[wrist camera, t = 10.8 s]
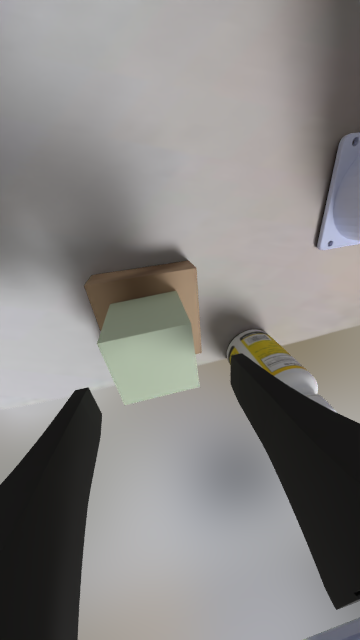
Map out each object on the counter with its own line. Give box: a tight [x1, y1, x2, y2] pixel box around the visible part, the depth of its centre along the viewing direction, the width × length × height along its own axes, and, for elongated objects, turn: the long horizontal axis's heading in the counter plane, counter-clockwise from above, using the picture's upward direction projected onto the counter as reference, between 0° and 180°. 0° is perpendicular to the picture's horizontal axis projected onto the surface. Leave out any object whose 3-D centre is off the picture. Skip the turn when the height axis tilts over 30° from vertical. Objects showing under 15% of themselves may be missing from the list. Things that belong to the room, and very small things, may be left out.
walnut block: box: [84, 261, 202, 354], centre depth 17 cm, size 8×8×3 cm
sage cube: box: [97, 291, 200, 405], centre depth 14 cm, size 5×5×5 cm
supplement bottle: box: [227, 330, 337, 413], centre depth 19 cm, size 5×5×10 cm
